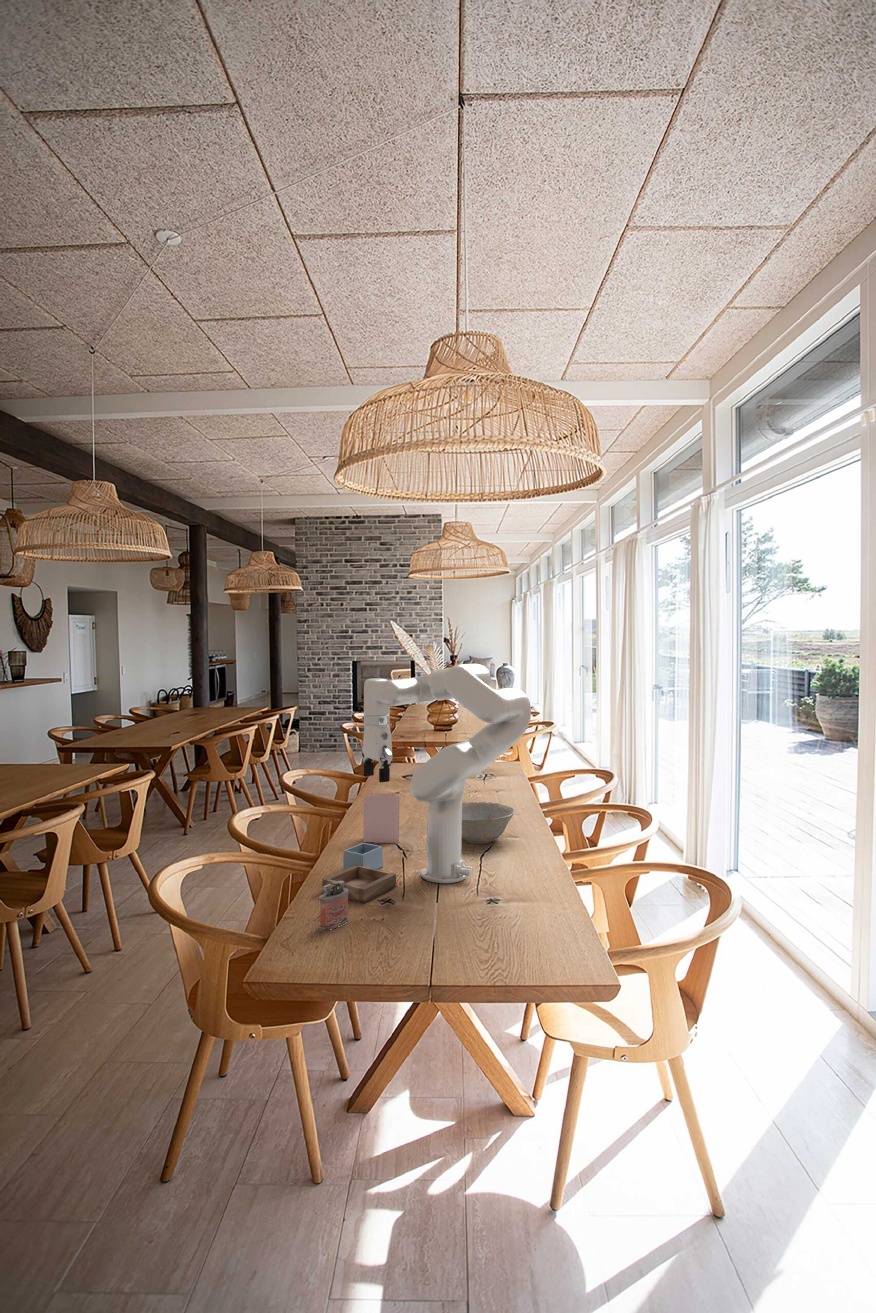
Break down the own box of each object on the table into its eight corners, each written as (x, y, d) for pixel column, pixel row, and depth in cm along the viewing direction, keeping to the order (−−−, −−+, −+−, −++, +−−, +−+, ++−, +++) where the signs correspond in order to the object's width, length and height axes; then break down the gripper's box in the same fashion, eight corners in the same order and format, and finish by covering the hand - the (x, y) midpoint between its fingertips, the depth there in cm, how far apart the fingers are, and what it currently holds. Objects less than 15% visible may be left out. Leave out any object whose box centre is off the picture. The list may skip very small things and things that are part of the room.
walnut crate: (396, 886, 189) (396, 873, 189) (364, 903, 178) (364, 889, 178) (355, 877, 196) (355, 864, 196) (322, 892, 185) (322, 879, 185)
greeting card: (400, 841, 229) (401, 795, 229) (386, 847, 223) (386, 800, 223) (373, 835, 236) (373, 790, 235) (358, 841, 230) (358, 795, 229)
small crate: (382, 867, 205) (382, 846, 205) (363, 876, 197) (363, 854, 197) (363, 862, 209) (363, 842, 208) (343, 871, 201) (343, 850, 201)
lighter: (341, 918, 169) (341, 876, 168) (351, 921, 167) (351, 879, 166) (315, 928, 162) (315, 885, 162) (325, 933, 160) (325, 889, 160)
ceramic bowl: (435, 846, 225) (435, 815, 224) (457, 827, 246) (457, 799, 246) (504, 854, 218) (504, 822, 217) (520, 834, 239) (520, 804, 239)
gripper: (402, 723, 204) (402, 782, 205) (374, 716, 219) (373, 772, 220) (379, 725, 200) (378, 785, 201) (352, 718, 215) (351, 774, 216)
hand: (376, 778), depth 210 cm, fingers open, 9 cm apart
